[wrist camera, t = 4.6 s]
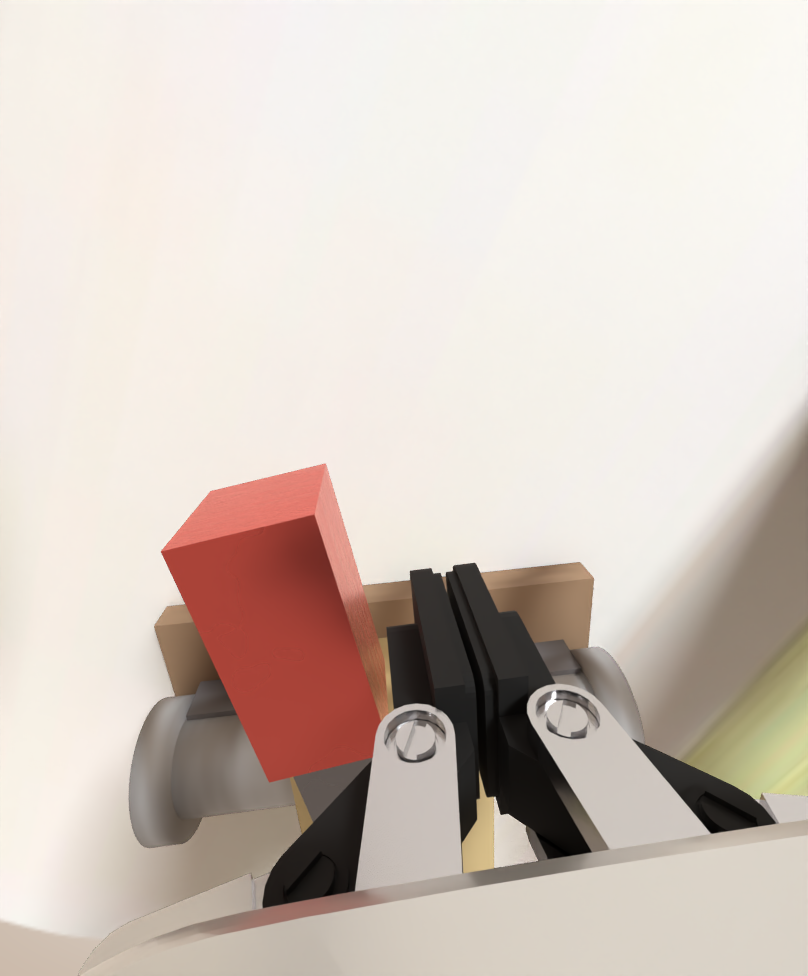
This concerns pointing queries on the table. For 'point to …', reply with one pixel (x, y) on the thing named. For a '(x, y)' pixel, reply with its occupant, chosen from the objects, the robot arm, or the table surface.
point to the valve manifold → (238, 773)
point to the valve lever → (286, 626)
